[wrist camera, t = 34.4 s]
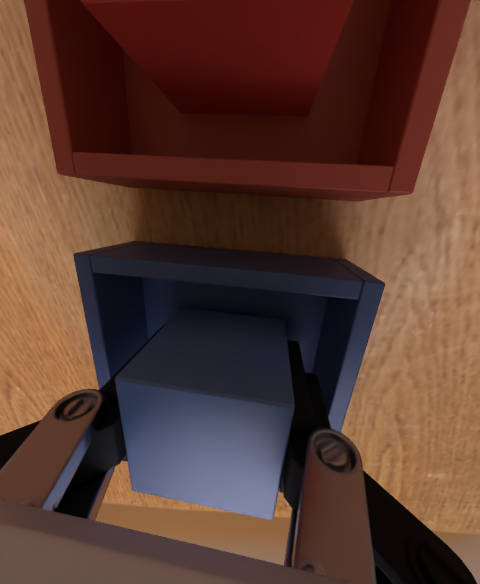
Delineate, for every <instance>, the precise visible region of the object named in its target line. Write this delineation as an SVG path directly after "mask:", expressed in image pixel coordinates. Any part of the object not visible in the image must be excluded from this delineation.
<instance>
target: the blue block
mask: <svg viewBox="0 0 480 584" xmlns="http://www.w3.org/2000/svg"><path fill="white" fill-rule="evenodd" d="M115 384H116V391H117V397H118V403H119V409H120V416H121V422H122V428H123V434H124V441H125V447H126V453H127V459H128V466H129V472H130V478H131V485H132V490H133V491H137V492H142V493H146V494H151V495H156V496H161V497H165V498H170V499H175V500H179V501H184V502H189V503H193V504H198V505H203V506H207V507H212V508H217V509H221V510H226V511H231V512H236V513H240V514H245V515H250V516H254V517H259V518H264V519H269V520H272V519H273V517H274V512H275V507H276V501H277V496H278V491H279V486H280V481H281V476H282V471H283V465H284V460H285V455H286V450H287V445H288V440H289V435H290V429H291V424H292V419H293V414H294V409H295V403H294V395H293V386H292V378H291V369H290V361H289V352H288V344H287V335H286V327H285V320H281V319H273V318H264V317H256V316H247V315H239V314H230V313H222V312H213V311H205V310H196V309H188V308H181V309H180V310H179V311H178V312H177V313H176V314H175V315H174V316H173V318H172V319H171V320H170V321H169V322H168V323H167V324H166V325H165V326H164V327H163V328H162V329H161V330H160V331H159V332H158V333H157V334H156V335H155V336H154V337H153V338H152V340H151V341H150V342H149V343H148V344H147V345H146V346H145V347H144V348H143V349H142V350H141V351H140V352H139V353H138V354H137V355H136V356H135V357H134V358H133V359H132V360H131V361H130V363H129V364H128V365H127V366H126V367H125V368H124V369H123V370H122V371H121V372H120V373H119V374H118V375H117V376H116V378H115Z"/></svg>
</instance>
